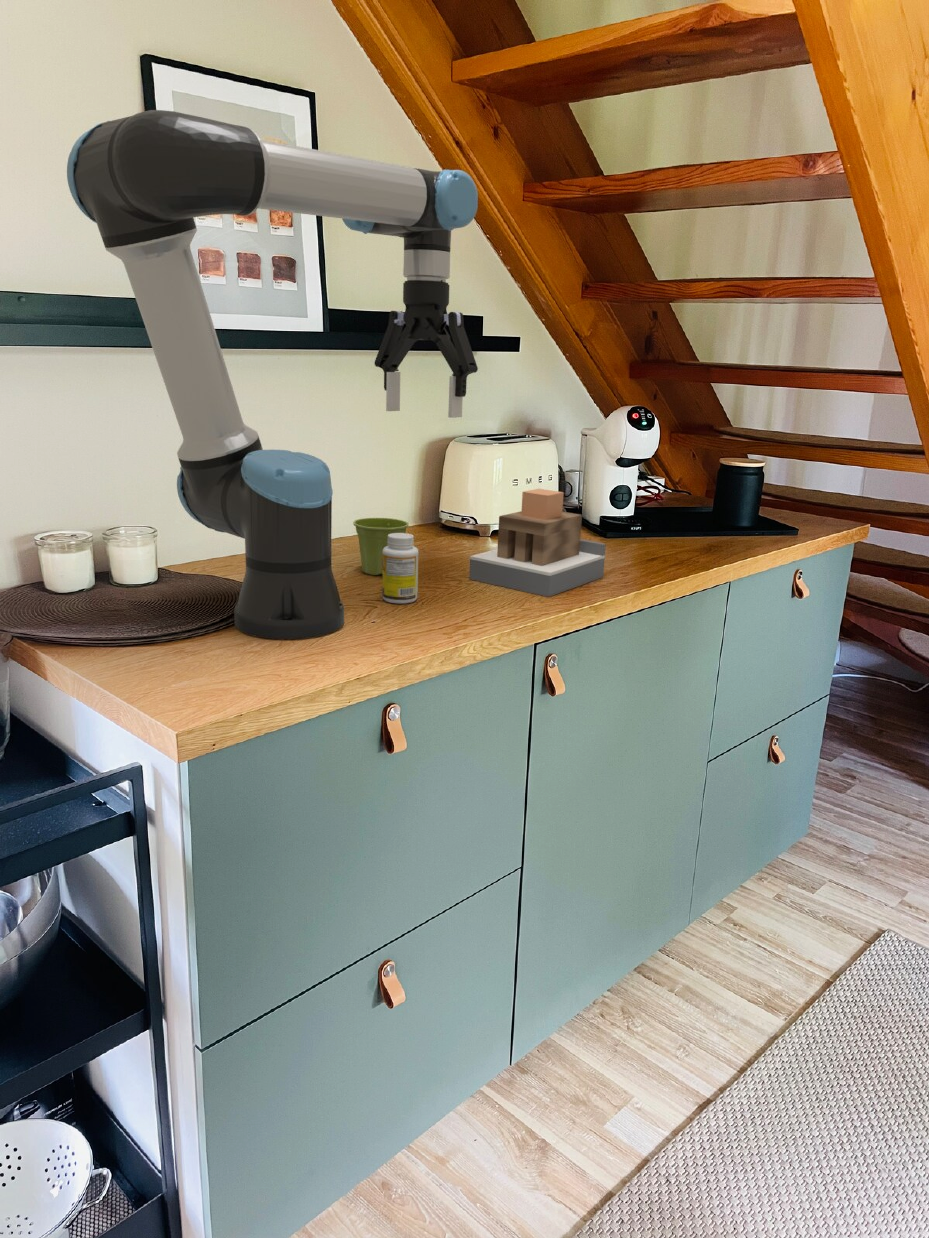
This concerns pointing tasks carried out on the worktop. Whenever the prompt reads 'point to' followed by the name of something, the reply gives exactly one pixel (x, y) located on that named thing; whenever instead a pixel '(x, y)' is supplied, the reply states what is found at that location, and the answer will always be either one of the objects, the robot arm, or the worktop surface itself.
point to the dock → (540, 570)
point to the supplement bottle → (400, 569)
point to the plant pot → (376, 540)
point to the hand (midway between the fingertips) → (423, 414)
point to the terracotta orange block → (542, 503)
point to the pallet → (539, 538)
